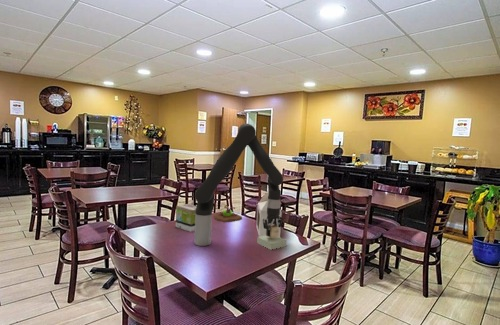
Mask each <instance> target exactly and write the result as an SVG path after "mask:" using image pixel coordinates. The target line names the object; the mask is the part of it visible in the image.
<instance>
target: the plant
mask: <svg viewBox="0 0 500 325" xmlns="http://www.w3.org/2000/svg"><path fill="white" fill-rule="evenodd" d="M223 208H224V209H223V210H222V211H221V212H219V213H215V214H214V215H213V218H214V219H213V220H216V221H217V222H223V223H233V222H238V221H241V220H242V219H243V217H242V216H241V215H239V214H238V213H235V211H233V210H236V208H235V206H231V207H230V208H229V205H228V204H226V205H224V206H223ZM225 209H226V210H225ZM232 209H233V210H232Z"/></svg>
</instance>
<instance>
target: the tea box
mask: <svg viewBox="0 0 500 325" xmlns="http://www.w3.org/2000/svg"><path fill="white" fill-rule="evenodd" d="M175 207H176V208H175V227H176V228H178V229H181V230H184V231H187V232H190V233H192V232H195V215H196V207H197V205H192V204H189V203H186V204H181V205H176V206H175Z"/></svg>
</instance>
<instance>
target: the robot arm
mask: <svg viewBox="0 0 500 325" xmlns="http://www.w3.org/2000/svg"><path fill="white" fill-rule="evenodd" d="M256 134H257V133H256V128H255V127H254V126H253V125H252V124H250V123H243V124H241V125H240V126H239V127H238V130H237V134H236V136H235V138H234V140H233V141H232V143H231V144H230V145H229V146H227V148H225V150H224V151H223V152H222V154H221V155H220V156H219V158H218V159H217V160H216V162H215V163H214V164H213V167H212V168H211V170H210V172H209V174H208V176H207V177H206V178H205V180H204V181H203V182H202V184H200V186H199V187H198V188H197V189H196V190H195V194H194V197H195V198H194V199H195V201H196V202H197V203H196V204H197V205H196V206H197V207H196V215H195V231H194V237H193V238H194V239H193V241H194V244H195V245H196V246H198V247H205V246H209V245H211V242H212V240H211V239H212V221H213V216H212V215H213V208H214V197H215V195H214V192H215V191H216V189H217V187H218V186H219V184H220V183H221V182H222V181H223V180H224V179H225V178H226V176H228V174H230V172H231V170H232V169H233V167H235V165H236V164H237V162H238V160H239V158H240V157H241V155H242V153H243V151H244V150H245V149H246V148H247V147H249V149H250V150H251V152H252V154H253V155H254V157H255V159H256V160H257V163H258V165H259V166H260V167H261V169H262V171H263V172H265V173H266V175H267V186H268V189H269V193H268V192H267V193H268V203H267V218H266V219H263V226H264V229H266V230H267V231H266V235H267V236H270V229H271V227H272V225H273V224H274V225H276V226H278V227H281V228H282V224H283V220H284V217H283V216H281V217H280V216H279V215H280V210H281V194H282V193H281V190H280V185H282V184H283V181H284V176H283V174H282V173H281V171H280V170H279V169H278V168H277V166H276V165H275V164H274V162H273V160H272V159H271V157H270V155H269V154H268V152H267V151H266V150H265V149H264V147H263V146H262V145H261V144H262V143H260V141H259V139H258V138H257V135H256ZM268 189H267V190H268ZM269 223H270V224H269ZM279 223H280V224H279ZM268 226H269V228H268Z"/></svg>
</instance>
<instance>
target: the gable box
mask: <svg viewBox="0 0 500 325" xmlns="http://www.w3.org/2000/svg"><path fill="white" fill-rule="evenodd" d="M268 193H269V189H267V193H265V194H263V196H262V198H260V200H259V201H258V202H257V207H256V208H257V212H256V226H255V227H256V230H257V234H258V237H260V236H265V235H266V229H264V226H263V219H266V218H267V203H268ZM282 214H283V211H282V210H281V209H280V215H279V216H280V217H282ZM269 224H270V223H269ZM279 224H280V223H279ZM273 225H274V224H273ZM281 228H282V226H281V227H279V230H278V236H279V237H281Z"/></svg>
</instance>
